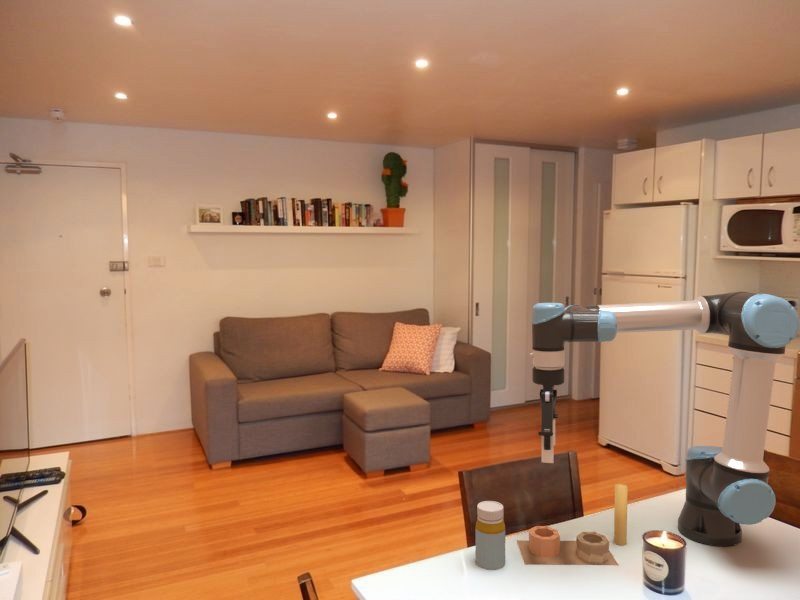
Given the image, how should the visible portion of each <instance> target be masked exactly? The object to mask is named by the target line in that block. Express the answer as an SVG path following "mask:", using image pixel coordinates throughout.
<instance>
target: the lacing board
mask: <svg viewBox="0 0 800 600" xmlns="http://www.w3.org/2000/svg"><path fill="white" fill-rule="evenodd" d="M516 542H517V543H516V544H517V546H518V549H519V552H520V555H521V558H522V560H523V563H524V565H527V566H528V565H530V566H533V565H534V566H536V565H537V566H539V565H540V566H544V565H545V566H546V565H547V566H619V563H618V562H617V560H616V558H615V556H614V555H613V553H612V552H611V551H610V550H609V560H607V561H606V562H605V563H603V564H590V563H587V562H585V561H582V560H580V559H579V558H578V556H577V554H576V540H560V553H559V554H557V555H556V556H554V557H540V556H537V555H535V554H532V553H531V551H530V549H529V539H528V540H525V539H524V540H522V539H521V540H518V539H517V540H516Z"/></svg>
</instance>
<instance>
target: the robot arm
mask: <svg viewBox="0 0 800 600" xmlns="http://www.w3.org/2000/svg"><path fill="white" fill-rule="evenodd" d="M799 318H800V317H799V314H798V312H797V310H796V309H795V307H794V306H793V305H792V304H791V303H790V302H789V301H787V299H784V298H782V297H779V296H776V295H773V294H768V293H757V292H749V291H734V292H733V291H732V292H725V293H719V294H718V293H717V294H711V295H710V294H709V295H698V296H696V297H695V298H694V299H692V300H691V299H690V300H676V301H675V300H674V301H673V300H672V301H651V302H632V303H617V304H616V303H613V304H597V305H596V304H595V305H591V304H590V305H579V304H571V305H567V306H566V307H565V306H564V304H563V303H560V302H538V303H535V304H534V305H533V306H532V315H531V336H532V337H531V339H532V341H531V342H532V343H531V344H532V347H531V348H532V352H529V357H531V358H532V365H533V366H534V367H533V368H532V371H531V372H532V376H531V377H532V382H533V383H534V384H535V385H538V386H539V385H540V386H541V385H542V388H540V391H539V399H540V405H539V406H540V409H541V427H540V428H541V429H540V431H538V434H537V435H538V436H541V438H540V439H541V442H540V444H541V446H540V447H541V456H540V457H541V463H543V464H545V463H547V464H554V459H555V458H554V457H555V456H554V451H555V450H554V446H556V419H559V414H558V413H556V404H557V396H558V389H555V386H560V385H563V384H565V369H564V366H565V363H566V362H565V361H566V359H565V357H566V356H565V353H566V352H565V343H604V342H606V343H607V342H613V341H614V340H615V338H616V336H617V334H620V333H622V334H623V333H643V332H644V333H645V332H647V333H648V332H650V333H651V332H666V331H667V332H668V331H691V330H692V331H697V332H698V333H700V334H719V335H723V336H724V335H725V336H728V345H727V348H728V349H729V350H730V351H731V352H732V354H733V359H732V360H733V362H732V368H731V369H732V370H731V376H730V377H731V378H730V387H729V392H728V393H729V394H728V400H727V401H728V402H727V409H726V419H725V426H724V427H725V428H724V433H723V441H722V446H713V445H695V446H692V447H689V448H688V449H687V452H686V458H685V467H686V468H685V470H686V471H685V501H684V504H683V505H682V508H681V511H680V514H679V516H678V517H677V519H678V520H677V529H678V531H679V533H680V534H681V535H682V536H684V537H686V538H687V539H690V540H692V541H695V542H697V543H701V544H703V545H704V544H705V545H708V546H716V547H731V546H735V545H738V544H740V543H741V542H742V539H743V537H742V536H743V530H742V527H741V525H745V526H747V525H748V526H750V525H756V524H759V523H762V521H764V520H766V519H767V518H769V517H770V515H771V514H772V513H773V511H774V510H775V508H776V507H775V506H776V499H777V498H776V495H775V492H774V491H773V489H772V487H771V486H770V485H769V484H768V483H769V474H770V467H769V466H768V464H767V463H766V462H765V461H764V453H765V447H766V439H767V431H768V423H769V416H770V409H771V400H772V392H773V386H774V384H773V383H774V378H775V377H774V376H775V370H776V363H777V361H778V360H779V359H780V358H782V357H784V356H785V355H786V352H785V351H786V347H787V346H788V345H789V344H790V343H791V342H792V340H794V339H795V338H796V337H797V334H798V333H799V328H800V319H799Z"/></svg>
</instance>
